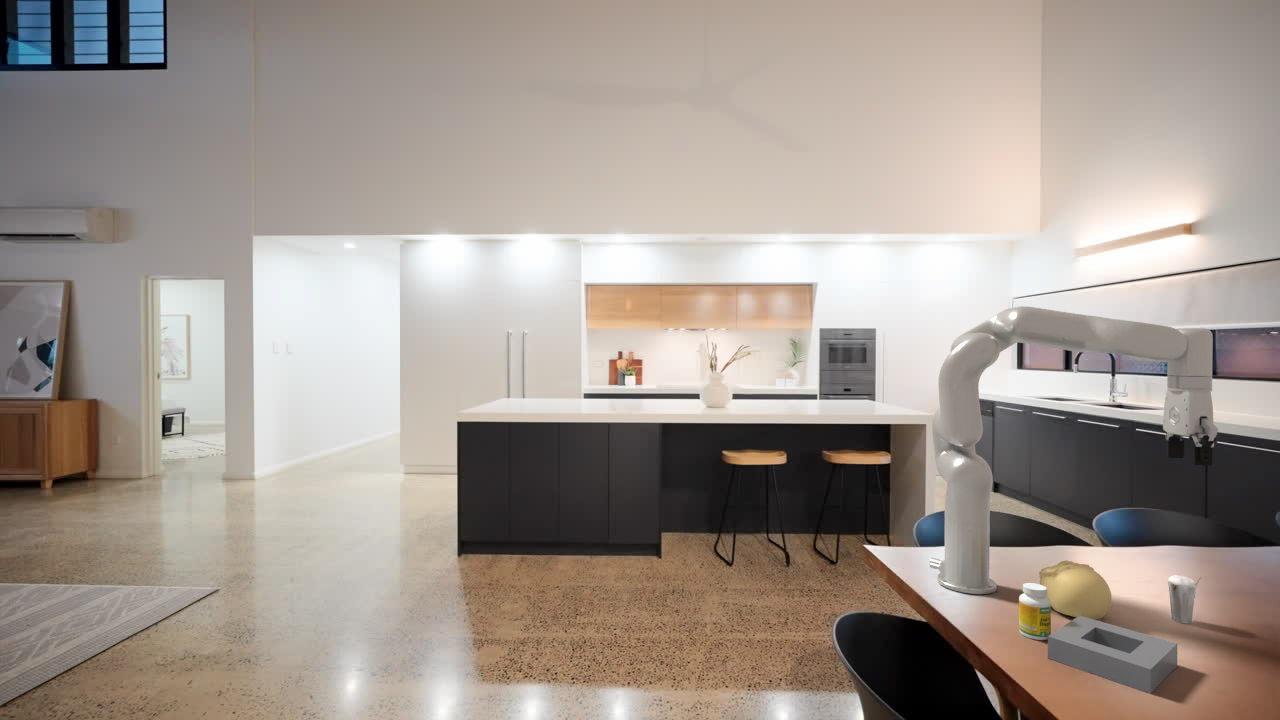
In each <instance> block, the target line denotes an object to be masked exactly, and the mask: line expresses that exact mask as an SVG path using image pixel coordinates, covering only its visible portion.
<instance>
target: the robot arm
mask: <svg viewBox="0 0 1280 720" xmlns="http://www.w3.org/2000/svg"><path fill="white" fill-rule="evenodd" d="M1213 341H1214V339H1213V332H1212V331H1211V330H1210V329H1209V328H1203V327H1199V328H1198V327H1195V328H1194V327H1191V328H1190V327H1189V328H1186V327H1185V328H1174V327H1172V326H1167V325H1162V324H1161V325H1160V324H1156V323H1149V322H1148V323H1147V322H1142V321H1134V320H1126V319H1125V320H1124V319H1115V318H1108V317H1104V316H1096V315H1088V314H1087V315H1086V314H1081V313H1075V312H1066V311H1061V310H1053V309H1049V308H1048V309H1047V308H1040V307H1033V306H1025V305H1024V306H1016V307H1010V308H1007V309H1004V310H1002V311H1000V312H998V313H997V314H995V315H993V316H991V317H990V318H988V319H987V320H985V321H983V322H981V323H980V324H977V325H976V326H975V327H973V328H971V329H969V330H967V331H965V332H964V333H962V334H960V335H959V336H957V337H956V338H955V339H954V340H953V341H952V343H951V346H950V352H949V354H948V355H947V356H946V358H945V359H944V361H943V363H942V365H941V367H940V370H939V374H938V398H939V407H938V409H937V410H936V411H935V413H934V414H933V418H932V421H931V422H932V423H931V431H932V432H931V434H932V440H933V442H932V443H933V449H934V457H935V465H936V469H937V471H938V474H939V476H940V477H941V478H942V479H943V480H944V481H945V482H946V491H945V498H944V559H943V560H941V559H939V558H935V557H931V558H930V559H929V568H930V569H934V570H938V571H939V574H937V576H936V578H937V583H939V584H940V585H941V586H942V587H945V589H946V588H947V589H949V590H951V591H956V592H959V593H965V594H970V595H988V594H992V593H995V592H996V591H997V588H998V587H997V584H998V583H997V582H996V581H994V580H993V579H991V578H990V553H991V552H990V546H991V545H990V542H991V540H990V538H991V537H990V530H991V529H990V525H991V523H990V521H991V519H990V518H991V517H990V515H991V514H990V507H991V498H992V491H993V483H994V477H993V472H992V469H991V466H990V465H989V464H988V462H987V461H986V460H985V459H984V458H983V457H982V456H980V455H978V454H977V452H976V444H977V443H978V442H979V441H980V440H981V439H982V437H983V433H984V432H983V431H984V426H983V424H984V423H983V419H982V413H981V404H980V392H979V384H980V379H981V376H982V374H983V373H984V372H985V370H987V369H988V368H989V367H991V366H992V365H994V364H995V363H996V362H997V361H998V359H999V356H1000V353H1001V352H1003V351H1005V350H1007V349H1008V348H1010V347H1011V346H1013V345H1015V344H1016V343H1021V344H1028V345H1033V346H1039V347H1046V348H1053V349H1058V350H1064V351H1065V350H1066V351H1070V352H1077V353H1086V354H1088V353H1089V354H1113V355H1119V356H1121V355H1123V356H1127V357H1129V358H1130V359H1132V360H1135V361H1139V362H1163V363H1165V362H1166V363H1167V367H1166V368H1167V373H1166V374H1167V379H1166V381H1167V382H1166V383H1167V388H1166V389H1167V390H1166V393H1165V398H1164V404H1163V405H1164V406H1163V416H1162V417H1163V422H1162V430H1163V431H1164V432H1165V435H1164V436H1165V440H1166V458H1168V459H1169V458H1170V459H1183V458H1185V440H1183V438H1184V437H1190V436H1191V438H1192V439H1193V442H1194V444H1195V445H1194V446H1193V449H1192V451H1193V453H1192V454H1193V455H1192V458H1193V459H1192V460H1193V461H1192V463H1193V465H1195V466H1201V467H1202V466H1205V467H1206V466H1208V467H1209V466H1210V467H1211V466H1212V465H1213V448H1214V447H1215V442H1216V440H1217V435H1218V432H1219V429H1218V427H1217V426H1216V425H1215V424H1214V409H1213V400H1212V399H1213V397H1212V393H1211V392H1213V349H1214V348H1213V345H1214V344H1213Z"/></svg>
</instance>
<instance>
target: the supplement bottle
mask: <svg viewBox="0 0 1280 720" xmlns="http://www.w3.org/2000/svg"><path fill="white" fill-rule="evenodd" d="M1022 592H1023V593H1021V594H1019V597H1018V630H1019V633H1020V634H1021V635H1022V636H1024V637H1026V638H1028V639H1031V640H1032V639H1033V640H1036V641H1048V636H1049V635H1051V634H1052V632H1051V631H1052V627H1051V626H1052V623H1051V622H1052V619H1051V617H1052V606H1051V602H1050V600H1049V599H1048V598H1047V597H1046V595H1047V588H1046V587H1045V586H1043V585H1040V583H1034V582H1026V583H1023V584H1022Z"/></svg>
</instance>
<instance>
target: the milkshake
mask: <svg viewBox="0 0 1280 720" xmlns="http://www.w3.org/2000/svg"><path fill="white" fill-rule="evenodd" d="M1201 579H1202V576H1201V577H1199V578H1198V580H1197V582H1196V580H1193V579H1192V578H1190V577H1187V576H1183V575H1177V574H1174V575H1170V576H1168V578H1167V585H1168V592H1169V601H1170V603H1169V604H1170V617H1171V620H1173V621H1174V622H1177V623H1180V624H1185V625H1189V624H1193V616H1194V605H1195V598H1196V594H1197V587H1198V583H1199V582H1200V580H1201Z"/></svg>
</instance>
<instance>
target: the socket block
mask: <svg viewBox="0 0 1280 720" xmlns="http://www.w3.org/2000/svg"><path fill="white" fill-rule="evenodd" d="M1047 659H1050V660H1052V661H1055V662H1058V663H1060V664H1064V665H1066V666H1069V667H1073V668H1074V669H1078V670H1082V671H1083V672H1087V673H1090V674H1092V675H1095V676H1098V677H1101V678H1105V679H1106V680H1110V681H1112V682H1114V683H1115V682H1116V683H1118V684H1120V685H1124V686H1127V687H1131V688H1133V689H1136V690H1139V691H1141V692H1144V693H1147V694H1149V695H1150V694H1152V693H1153V691H1155V690H1156V688H1157V687H1158V686H1159V685H1160V684H1161V683H1163V682H1164V680H1165V679H1166V678H1167V677H1168V676H1170V674H1171V673H1172V672H1173V671H1174V670H1175V669H1176V668H1177V667H1178V642H1174V641H1170V640H1166V639H1163V638H1159V637H1156V636H1153V635H1149V634H1146V633H1142V632H1139V631H1136V630H1135V631H1134V630H1132V629H1129V628H1124V627H1121V626H1118V625H1114V624H1111V623H1107V622H1104V621H1100V620H1098V619H1096V620H1094V619H1091V618H1087V617H1084V616H1078V617H1074V618H1073V619H1072V620H1071V621H1069V622H1067V623H1066V624H1064V625H1063V626H1061V627H1060V628H1058V629H1057V630H1055V631H1054V632H1051V635H1049V636H1048V639H1047Z"/></svg>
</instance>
